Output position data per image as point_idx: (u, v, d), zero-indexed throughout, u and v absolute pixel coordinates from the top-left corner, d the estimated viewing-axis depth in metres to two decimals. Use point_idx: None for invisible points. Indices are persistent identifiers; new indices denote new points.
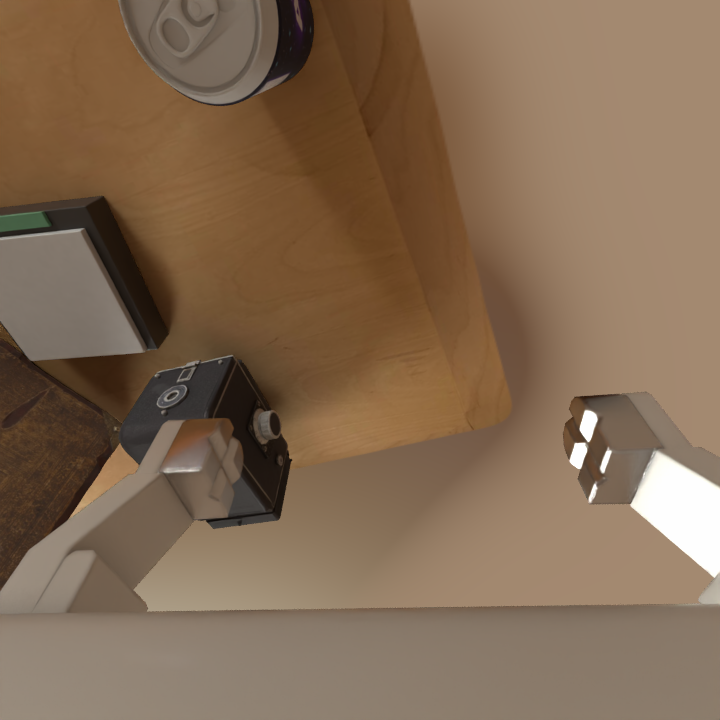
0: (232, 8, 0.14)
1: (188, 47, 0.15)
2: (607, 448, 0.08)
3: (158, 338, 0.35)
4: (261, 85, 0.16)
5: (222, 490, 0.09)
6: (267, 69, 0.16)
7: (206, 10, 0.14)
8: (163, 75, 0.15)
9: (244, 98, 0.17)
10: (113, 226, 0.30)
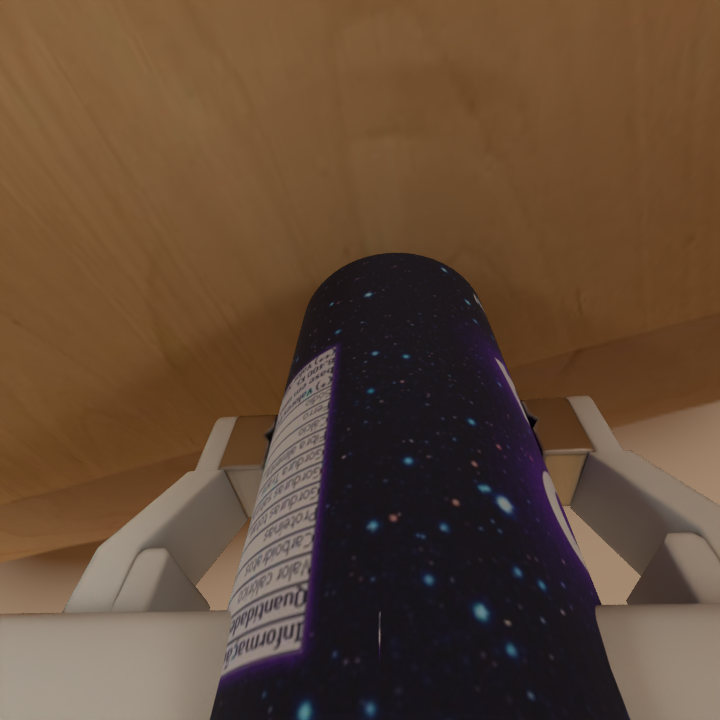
0: None
1: None
2: (541, 451, 0.08)
3: None
4: None
5: None
6: None
7: None
8: None
9: None
10: None
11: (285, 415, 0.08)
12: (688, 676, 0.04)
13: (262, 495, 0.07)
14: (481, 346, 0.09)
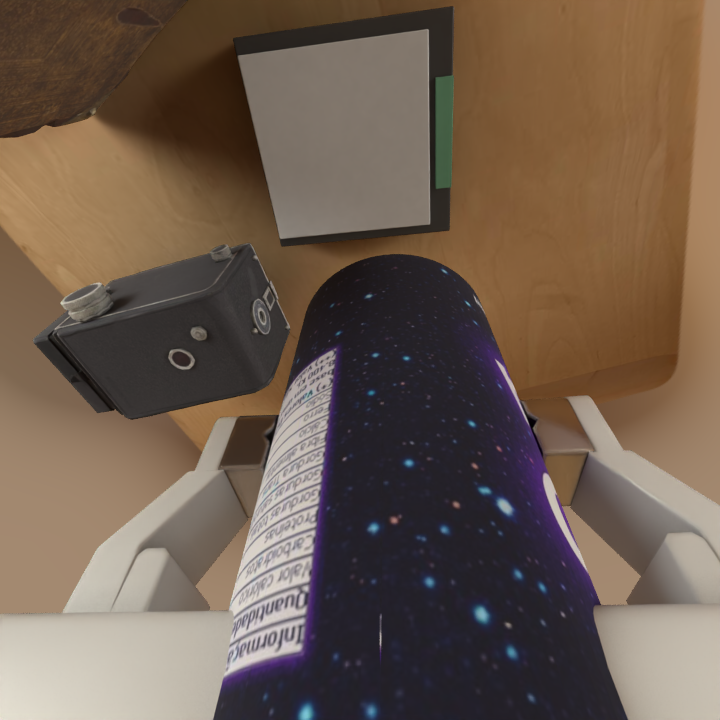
0: None
1: None
2: (541, 451, 0.08)
3: None
4: None
5: None
6: None
7: None
8: None
9: None
10: None
11: (286, 416, 0.08)
12: (688, 676, 0.04)
13: (263, 497, 0.07)
14: (482, 348, 0.09)
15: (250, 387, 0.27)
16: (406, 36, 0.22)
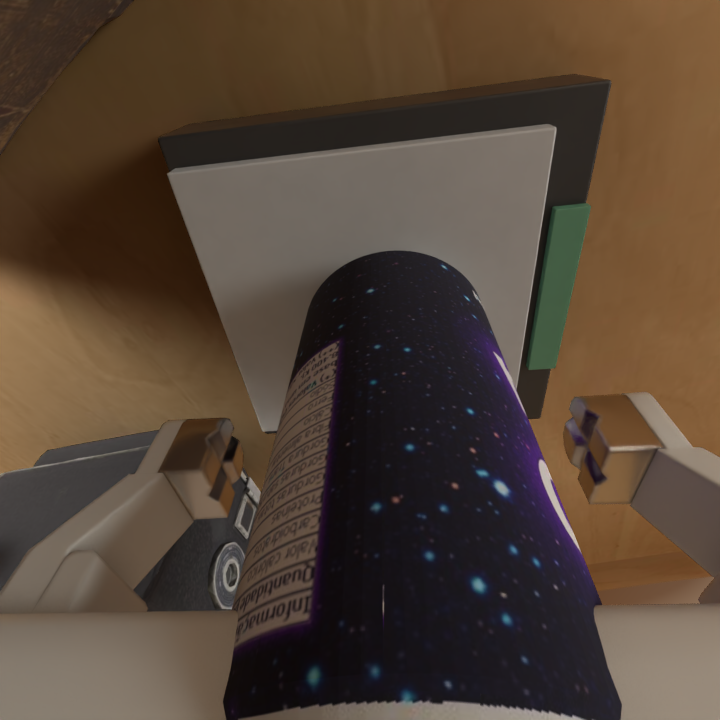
0: None
1: None
2: (607, 448, 0.08)
3: None
4: None
5: (222, 490, 0.09)
6: None
7: None
8: None
9: None
10: None
11: (290, 406, 0.08)
12: (688, 676, 0.04)
13: (269, 482, 0.07)
14: (480, 340, 0.09)
15: None
16: (509, 140, 0.11)
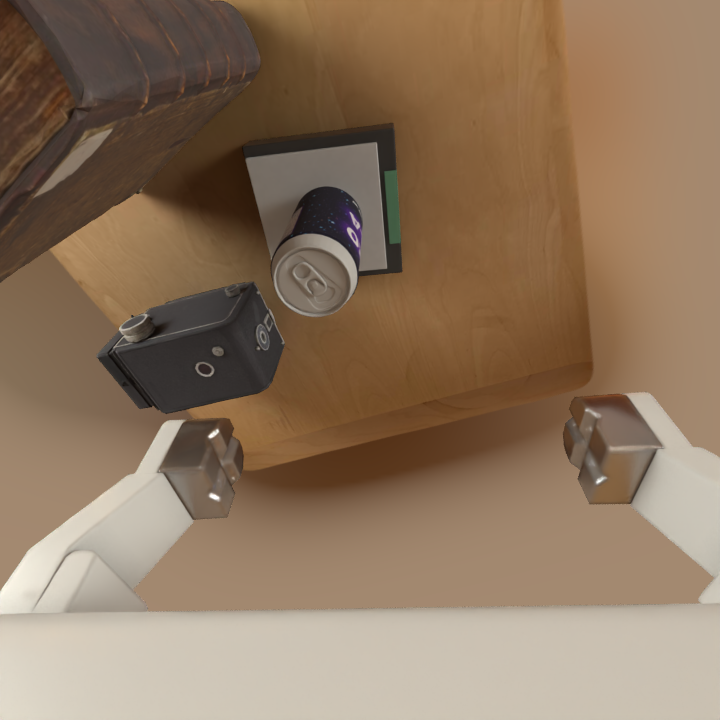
0: (316, 300, 0.27)
1: (297, 277, 0.26)
2: (607, 448, 0.08)
3: None
4: None
5: (222, 490, 0.09)
6: None
7: (314, 289, 0.26)
8: (281, 260, 0.25)
9: None
10: None
11: (288, 223, 0.30)
12: (688, 676, 0.04)
13: None
14: (345, 207, 0.30)
15: (254, 389, 0.37)
16: (361, 147, 0.32)
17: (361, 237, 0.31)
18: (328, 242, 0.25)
